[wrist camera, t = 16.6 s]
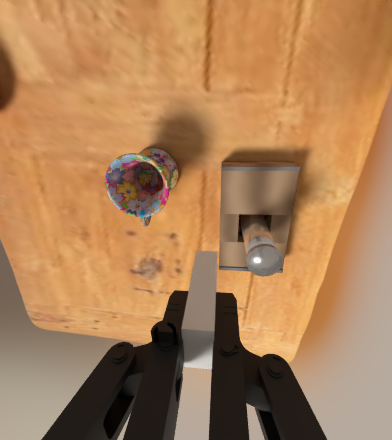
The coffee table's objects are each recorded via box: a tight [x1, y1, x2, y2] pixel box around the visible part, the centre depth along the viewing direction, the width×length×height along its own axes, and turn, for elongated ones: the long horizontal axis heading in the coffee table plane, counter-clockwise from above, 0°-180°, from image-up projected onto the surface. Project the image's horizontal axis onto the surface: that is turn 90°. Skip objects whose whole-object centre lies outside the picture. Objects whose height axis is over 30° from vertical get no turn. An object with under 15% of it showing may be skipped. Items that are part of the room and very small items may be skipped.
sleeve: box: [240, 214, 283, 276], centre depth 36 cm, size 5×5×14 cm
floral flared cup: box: [105, 148, 178, 226], centre depth 37 cm, size 12×9×11 cm
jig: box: [219, 162, 301, 273], centre depth 40 cm, size 12×20×4 cm, turn 1°
